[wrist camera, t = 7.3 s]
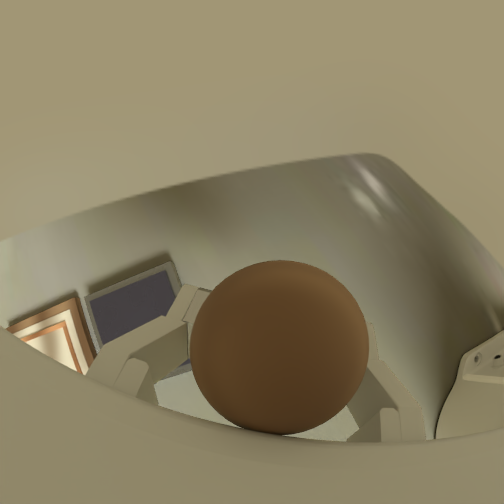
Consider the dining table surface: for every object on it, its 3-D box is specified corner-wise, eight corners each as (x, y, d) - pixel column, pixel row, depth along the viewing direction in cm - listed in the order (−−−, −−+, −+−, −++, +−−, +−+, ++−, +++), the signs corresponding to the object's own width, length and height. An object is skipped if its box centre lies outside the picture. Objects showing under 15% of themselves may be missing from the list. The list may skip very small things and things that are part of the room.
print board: (79, 298, 26) (72, 297, 25) (121, 413, 24) (116, 417, 23) (10, 328, 25) (3, 328, 24) (44, 426, 23) (38, 429, 21)
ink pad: (173, 263, 27) (169, 260, 26) (211, 361, 25) (209, 364, 24) (90, 298, 26) (82, 296, 25) (123, 389, 25) (115, 393, 23)
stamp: (289, 269, 16) (359, 174, 5) (323, 349, 15) (448, 409, 4) (207, 302, 16) (101, 276, 5) (241, 383, 15) (211, 513, 4)
